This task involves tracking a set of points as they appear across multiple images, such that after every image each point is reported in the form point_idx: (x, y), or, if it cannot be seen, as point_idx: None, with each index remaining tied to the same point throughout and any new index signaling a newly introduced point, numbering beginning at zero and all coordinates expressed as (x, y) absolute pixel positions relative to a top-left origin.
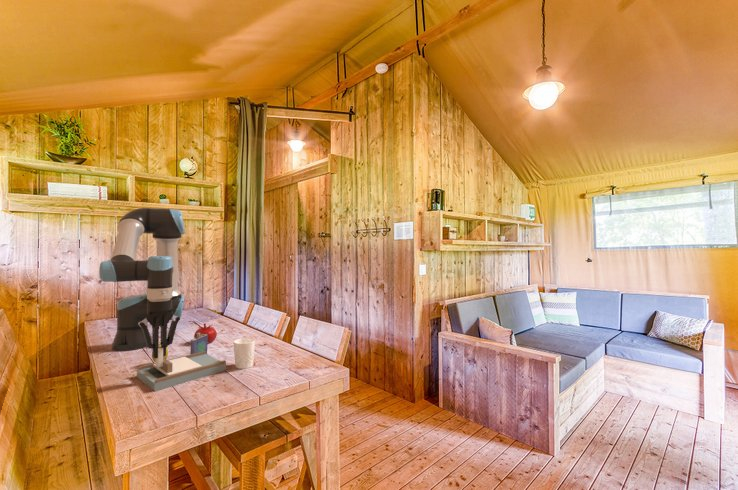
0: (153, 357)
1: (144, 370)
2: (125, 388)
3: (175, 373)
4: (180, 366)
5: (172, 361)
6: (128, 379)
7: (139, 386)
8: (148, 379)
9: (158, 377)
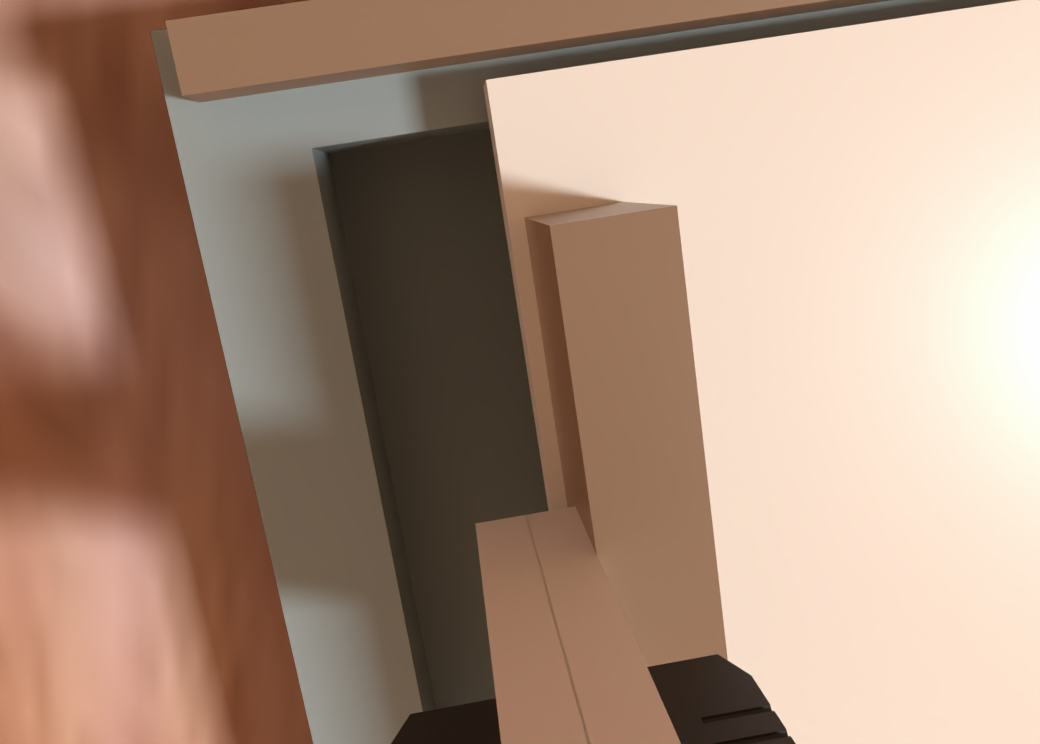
0: (412, 738)
1: (292, 197)
2: (6, 544)
3: None
4: (902, 623)
5: (877, 170)
6: (48, 103)
7: (209, 590)
8: (315, 736)
9: (514, 410)
